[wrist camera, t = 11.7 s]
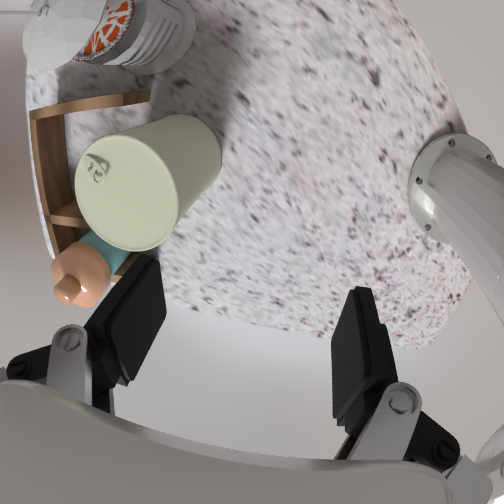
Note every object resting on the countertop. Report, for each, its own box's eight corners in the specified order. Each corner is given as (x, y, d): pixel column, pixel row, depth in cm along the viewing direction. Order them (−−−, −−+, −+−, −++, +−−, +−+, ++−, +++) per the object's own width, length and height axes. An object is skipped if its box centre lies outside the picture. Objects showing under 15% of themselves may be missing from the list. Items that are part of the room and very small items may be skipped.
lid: (104, 246, 26) (76, 275, 21) (116, 295, 29) (94, 326, 25) (61, 238, 26) (32, 263, 22) (74, 284, 30) (51, 311, 25)
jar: (137, 214, 33) (101, 248, 26) (142, 253, 36) (112, 291, 29) (101, 210, 33) (63, 241, 26) (108, 247, 36) (75, 282, 29)
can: (179, 95, 25) (109, 106, 15) (240, 160, 28) (204, 206, 18) (126, 156, 29) (55, 196, 19) (181, 212, 32) (130, 275, 22)
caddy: (149, 90, 25) (123, 93, 20) (158, 264, 36) (142, 288, 32) (57, 104, 26) (29, 111, 22) (78, 249, 37) (59, 268, 33)
